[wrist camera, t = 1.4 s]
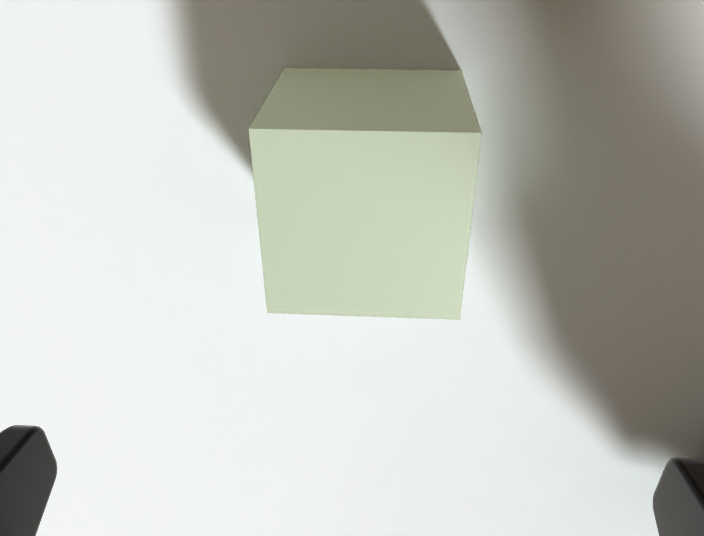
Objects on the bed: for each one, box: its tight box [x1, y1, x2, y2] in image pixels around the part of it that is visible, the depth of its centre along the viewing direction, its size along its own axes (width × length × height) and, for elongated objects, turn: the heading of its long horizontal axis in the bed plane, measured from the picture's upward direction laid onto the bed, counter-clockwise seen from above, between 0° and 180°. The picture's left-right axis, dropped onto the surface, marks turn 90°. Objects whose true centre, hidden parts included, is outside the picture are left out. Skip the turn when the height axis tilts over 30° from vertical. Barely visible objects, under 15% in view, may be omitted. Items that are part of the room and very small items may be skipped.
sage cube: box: [249, 68, 482, 320], centre depth 16 cm, size 5×5×5 cm
